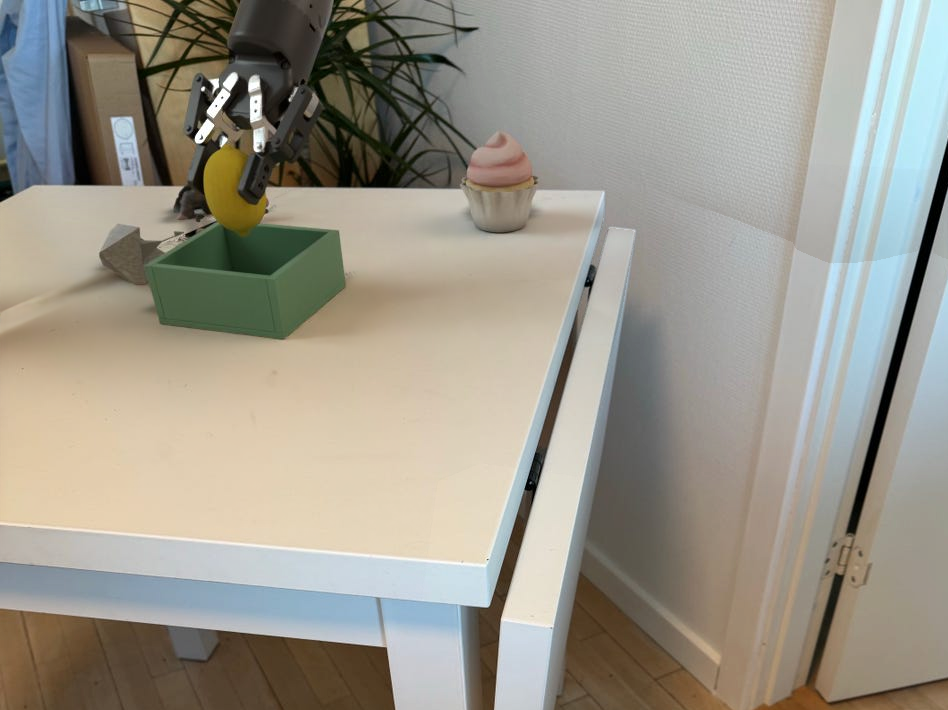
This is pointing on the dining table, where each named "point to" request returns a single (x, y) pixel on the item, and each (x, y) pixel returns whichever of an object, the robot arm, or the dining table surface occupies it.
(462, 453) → the dining table surface
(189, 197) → the stuffed animal
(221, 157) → the lemon
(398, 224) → the dining table surface
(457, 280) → the dining table surface
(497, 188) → the cupcake
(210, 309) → the bin
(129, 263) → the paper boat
